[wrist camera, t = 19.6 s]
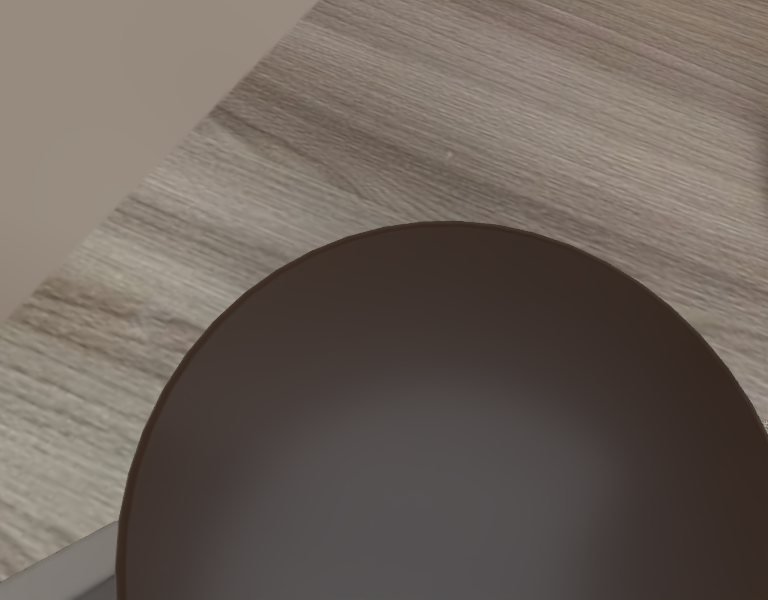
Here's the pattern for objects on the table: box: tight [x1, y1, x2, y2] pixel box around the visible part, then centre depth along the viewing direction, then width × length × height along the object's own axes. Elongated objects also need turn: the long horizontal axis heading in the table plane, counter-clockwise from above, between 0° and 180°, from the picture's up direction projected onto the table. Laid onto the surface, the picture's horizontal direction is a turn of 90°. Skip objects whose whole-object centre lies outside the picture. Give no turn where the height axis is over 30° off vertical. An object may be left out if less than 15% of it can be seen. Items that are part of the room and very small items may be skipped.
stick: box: [115, 221, 768, 600], centre depth 10 cm, size 3×3×16 cm
